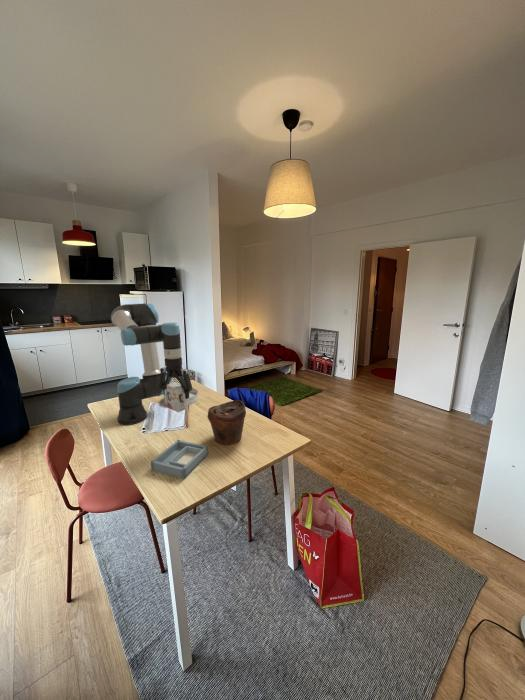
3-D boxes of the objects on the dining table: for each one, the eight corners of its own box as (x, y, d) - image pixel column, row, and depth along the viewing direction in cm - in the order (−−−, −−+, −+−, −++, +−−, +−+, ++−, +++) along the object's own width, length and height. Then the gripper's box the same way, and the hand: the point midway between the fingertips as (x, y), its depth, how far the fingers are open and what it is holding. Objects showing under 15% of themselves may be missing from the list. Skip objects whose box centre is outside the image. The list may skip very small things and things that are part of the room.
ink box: (167, 408, 136) (165, 384, 134) (176, 404, 140) (174, 381, 137) (178, 413, 131) (176, 388, 128) (187, 409, 135) (185, 385, 132)
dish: (205, 397, 195) (204, 390, 194) (184, 409, 175) (183, 402, 174) (179, 392, 204) (178, 385, 203) (156, 404, 184) (155, 396, 183)
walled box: (151, 470, 118) (150, 461, 117) (178, 447, 134) (177, 439, 133) (184, 479, 112) (183, 470, 112) (208, 454, 129) (207, 446, 128)
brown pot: (200, 445, 136) (198, 410, 132) (221, 426, 154) (220, 394, 150) (234, 453, 130) (233, 416, 126) (251, 432, 148) (251, 400, 144)
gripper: (147, 357, 130) (152, 403, 135) (189, 361, 123) (192, 409, 128) (158, 353, 137) (163, 397, 142) (198, 357, 130) (201, 403, 134)
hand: (177, 403), depth 135 cm, fingers closed on ink box, 9 cm apart
